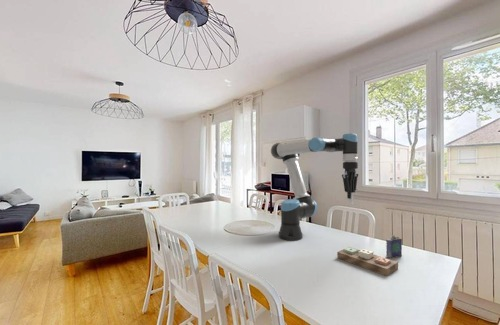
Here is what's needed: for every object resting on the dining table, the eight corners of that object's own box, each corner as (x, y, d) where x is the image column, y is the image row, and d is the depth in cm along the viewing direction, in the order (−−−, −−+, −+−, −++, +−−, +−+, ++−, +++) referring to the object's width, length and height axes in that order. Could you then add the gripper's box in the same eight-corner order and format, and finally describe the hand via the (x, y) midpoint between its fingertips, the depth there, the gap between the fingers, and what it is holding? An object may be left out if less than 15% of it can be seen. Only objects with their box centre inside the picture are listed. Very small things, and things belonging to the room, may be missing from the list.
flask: (389, 258, 113) (389, 236, 113) (384, 256, 116) (384, 235, 116) (403, 256, 116) (403, 234, 116) (397, 254, 119) (397, 233, 119)
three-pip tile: (375, 264, 103) (375, 259, 103) (379, 262, 105) (379, 256, 105) (386, 268, 99) (385, 262, 99) (390, 265, 102) (390, 259, 102)
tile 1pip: (344, 254, 115) (344, 249, 115) (349, 252, 117) (349, 247, 117) (352, 257, 111) (352, 251, 111) (357, 254, 114) (357, 249, 114)
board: (337, 258, 114) (337, 251, 114) (349, 252, 121) (349, 247, 121) (387, 276, 96) (387, 269, 96) (398, 268, 102) (398, 262, 102)
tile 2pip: (358, 256, 109) (358, 250, 109) (363, 254, 111) (363, 248, 111) (368, 259, 105) (368, 253, 105) (373, 257, 108) (373, 251, 108)
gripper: (350, 161, 120) (350, 206, 120) (362, 161, 128) (363, 203, 128) (337, 161, 126) (337, 204, 126) (350, 161, 134) (350, 202, 134)
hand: (350, 204), depth 127 cm, fingers closed
